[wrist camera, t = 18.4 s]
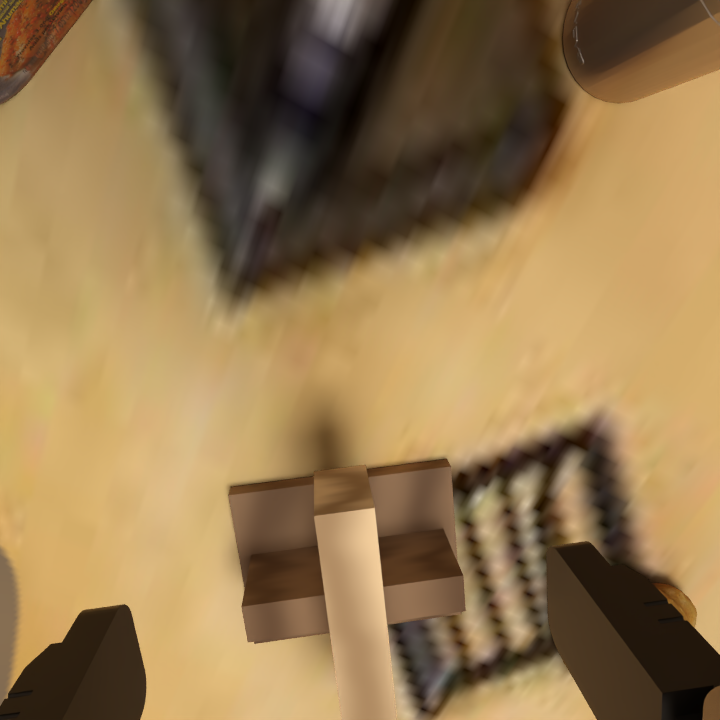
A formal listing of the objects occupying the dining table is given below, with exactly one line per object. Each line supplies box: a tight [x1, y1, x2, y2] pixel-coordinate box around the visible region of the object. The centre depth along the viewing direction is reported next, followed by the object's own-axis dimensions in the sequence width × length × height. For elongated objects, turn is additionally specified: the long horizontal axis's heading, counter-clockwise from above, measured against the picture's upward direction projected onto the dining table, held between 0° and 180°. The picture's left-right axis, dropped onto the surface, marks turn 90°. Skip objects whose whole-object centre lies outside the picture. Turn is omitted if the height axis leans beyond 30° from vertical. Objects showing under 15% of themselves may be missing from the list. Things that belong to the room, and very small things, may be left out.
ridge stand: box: [228, 459, 466, 644], centre depth 45 cm, size 18×14×8 cm
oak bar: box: [314, 465, 397, 720], centre depth 38 cm, size 4×22×6 cm, turn 6°
